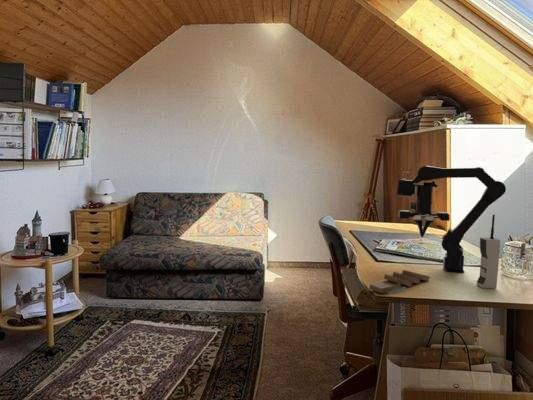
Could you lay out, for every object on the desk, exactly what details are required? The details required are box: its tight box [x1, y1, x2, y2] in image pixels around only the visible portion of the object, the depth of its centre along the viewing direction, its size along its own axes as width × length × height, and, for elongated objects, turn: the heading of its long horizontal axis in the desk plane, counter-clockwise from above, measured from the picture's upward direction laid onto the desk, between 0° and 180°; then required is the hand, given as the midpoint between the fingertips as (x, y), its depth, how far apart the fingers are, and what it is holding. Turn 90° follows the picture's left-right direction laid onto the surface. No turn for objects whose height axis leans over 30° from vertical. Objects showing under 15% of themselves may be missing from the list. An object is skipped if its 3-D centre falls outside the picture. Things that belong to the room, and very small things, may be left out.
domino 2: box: [383, 273, 414, 288], centre depth 144 cm, size 2×5×9 cm
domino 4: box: [392, 271, 421, 285], centre depth 147 cm, size 2×5×9 cm
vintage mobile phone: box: [475, 214, 501, 289], centre depth 145 cm, size 4×5×25 cm
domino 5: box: [401, 269, 430, 282], centre depth 151 cm, size 2×5×9 cm
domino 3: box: [384, 285, 407, 295], centre depth 141 cm, size 2×5×9 cm
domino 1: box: [369, 280, 402, 294], centre depth 139 cm, size 2×5×9 cm
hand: (421, 236), depth 171 cm, fingers closed
